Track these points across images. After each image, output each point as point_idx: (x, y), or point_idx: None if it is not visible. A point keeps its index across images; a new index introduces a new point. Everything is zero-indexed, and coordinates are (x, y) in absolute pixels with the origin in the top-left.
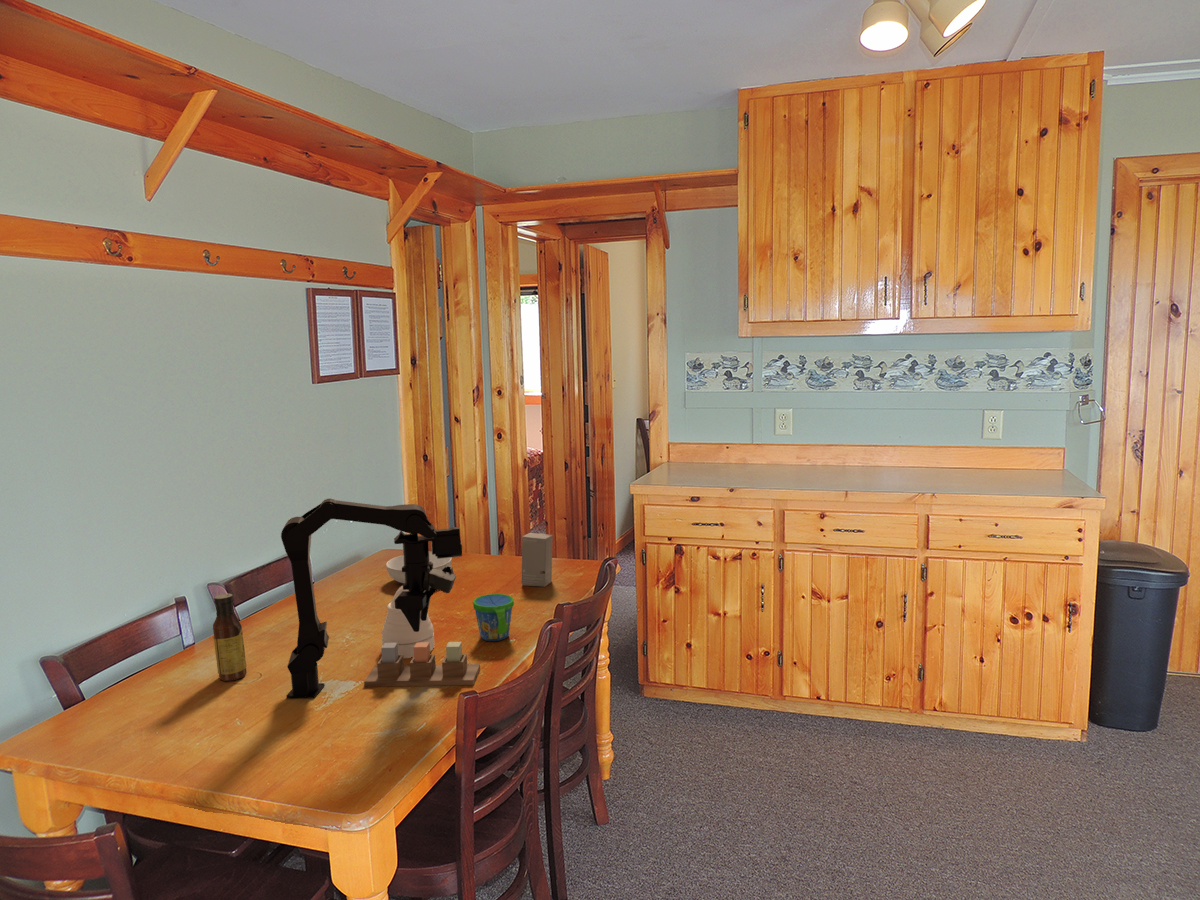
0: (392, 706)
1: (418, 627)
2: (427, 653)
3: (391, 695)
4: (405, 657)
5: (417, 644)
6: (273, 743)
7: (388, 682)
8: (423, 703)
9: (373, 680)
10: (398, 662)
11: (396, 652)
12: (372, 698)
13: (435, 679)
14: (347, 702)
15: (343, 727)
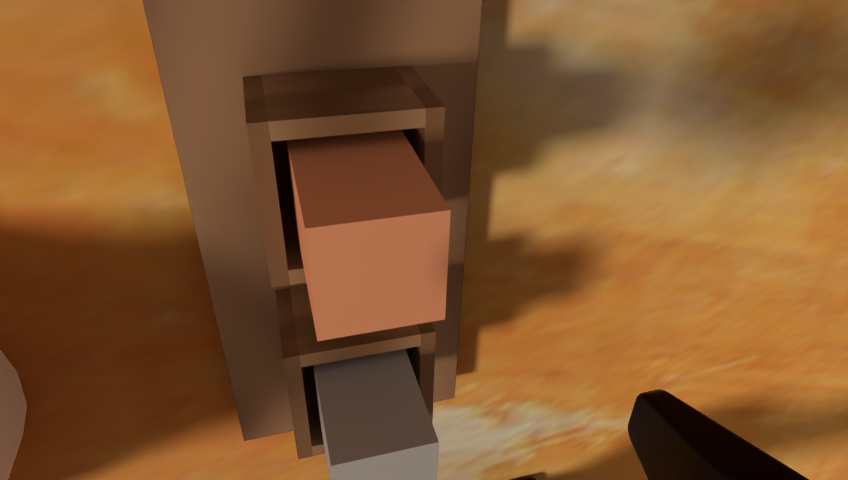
0: (689, 173)
1: (722, 430)
2: (407, 174)
3: (564, 225)
4: (5, 361)
5: (374, 315)
6: (813, 412)
7: (459, 294)
8: (708, 12)
9: (446, 367)
10: (421, 333)
11: (369, 403)
12: (579, 293)
13: (462, 15)
14: (595, 365)
15: (802, 284)
